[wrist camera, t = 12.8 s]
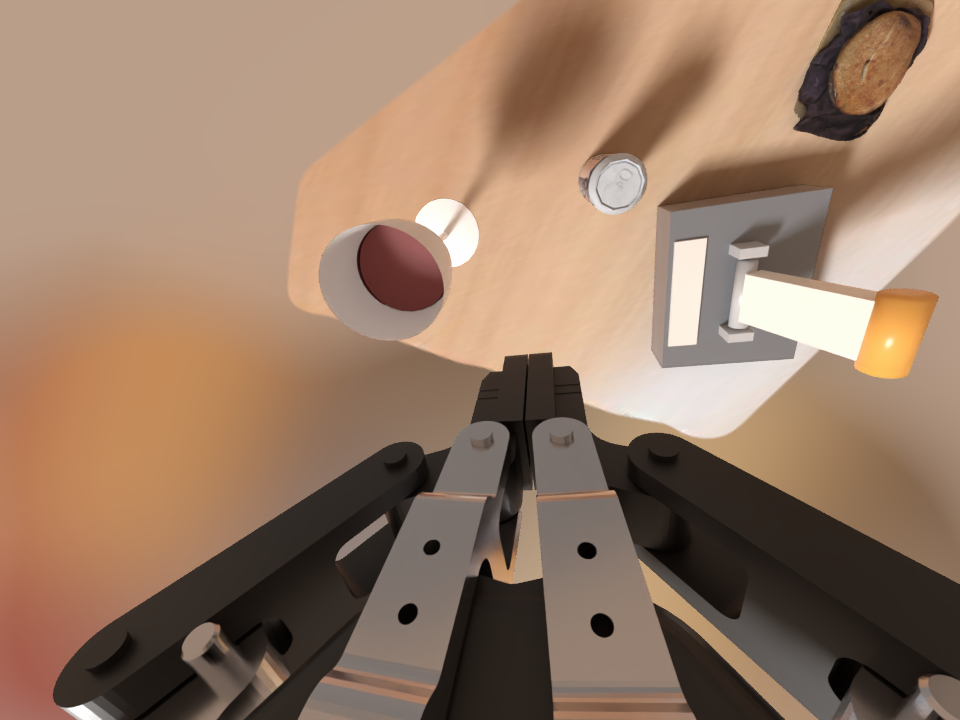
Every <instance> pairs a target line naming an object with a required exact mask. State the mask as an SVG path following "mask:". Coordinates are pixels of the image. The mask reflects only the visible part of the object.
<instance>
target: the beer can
mask: <svg viewBox="0 0 960 720" xmlns="http://www.w3.org/2000/svg"><path fill="white" fill-rule="evenodd" d="M646 186H647V172H646V169H645V166H644V164H643V163H642V162H641V160H640V159H638V158H637V157H635V156H634V155H631V154H629V153H617V154H600V155H597V156H594V157H592V158H591V159H589V160H588V161H587V162H586V163H585V164H584V165H583V167H582V168H581V171H580V173H579V177H578V187H579V190H580V192H581V194H582V195H583V197H584V198H586V199H587V200H588V201H589V202H590V203H591V204H592V205H594V206H595V207H596V208H597V209H598V210H600V211H601V212H603V213H606V214H613V215H616V214H621V213H624V212H626V211H628V210H630V209H632V208H633V207H634V206H635V205H636V204H637V203H638V202H639V201H640V199H641V198H642V196H643V194H644V192H645V190H646Z"/></svg>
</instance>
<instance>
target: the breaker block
mask: <svg viewBox="0 0 960 720" xmlns="http://www.w3.org/2000/svg"><path fill="white" fill-rule="evenodd" d="M832 191H833V188H829V187H819V186H809V185H796V186H789V187H783V188H776V189H769V190H763V191H756V192H750V193H743V194H737V195H730V196H723V197H717V198H710V199H704V200H697V201H691V202H684V203H677V204H671V205H664V206H658V207H657V229H656V253H655V276H654V300H653V324H652V347H651V350H652V352H653V354H654V355H655V357H656V359H657V360H658V362H659V364H660V366H661V367H662V368H670V367H684V366H698V365H712V364H726V363H740V362H754V361H768V360H782V359H794V354H795V350H796V346H797V341H795V340H792V339H789V338H786V337H783V336H780V335H777V334H774V333H771V332H768V331H765V330H762V329H759V328H756V327H753V326H750V325H748V327H747V328H744V329H735V328H731V327H729V326H728V322H729V315H730V307H731V300H732V293H733V286H734V279H735V271H736V264H737V260H742V259H751V258H752V259H758V260H759V263H758V269H757V271H760V270H765V271H770V272H775V273H781V274H786V275H791V276H797V277H802V278H807V279H812V277H813V273H814V268H815V264H816V260H817V255H818V251H819V247H820V242H821V238H822V234H823V230H824V225H825V221H826V217H827V212H828V208H829V204H830V199H831V195H832Z"/></svg>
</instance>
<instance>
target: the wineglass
mask: <svg viewBox="0 0 960 720" xmlns="http://www.w3.org/2000/svg"><path fill="white" fill-rule="evenodd" d="M478 240H479V230H478V226H477V222H476V220H475V218H474V216H473V215H472V213H471V211H470V210H469V209H467V208H466V207H465V206H464V205H463V204H462V203H459V202H457V201H455V200H452V199H442V198H441V199H437V200H434V201H431V202H429V203H428V204H427V205H425V206H424V207H423V208H422V209H421V211H420V212H419V214H418V215H417V217H416V221H415V222H413V221H410V220H403V219H386V220H380V221H375V222H370V223H365V224H362V225H358V226H355V227H353V228H350V229H347V230H345V231H344V232H342V233H340V234H339V235H337V236H336V237H335V238H334V239H333V240H332V241H331V242H330V243H329V245H328V246H327V247H326V249H325V251H324V253H323V255H322V258H321V261H320V265H319V283H320V287H321V291H322V294H323V296H324V299H325V301H326V303H327V304H328V306H329V308H330V309H331V310H332V312H333V313H334V314H335V316H336V317H337V318H338V319H339V320H340V321H342V322H343V323H344V324H345V325H347V326H348V327H349V328H351V329H352V330H354V331H356V332H357V333H360V334H362V335H364V336H367V337H370V338H373V339H378V340H385V341H388V340H389V341H395V340H403V339H407V338H410V337H413V336H415V335H417V334H419V333H421V332H422V331H424V330H425V329H426V328H428V327H429V326H430V325H431V324H432V323H433V321H434V320H435V319H436V317H437V316H438V314H439V312H440V311H441V309H442V307H443V305H444V303H445V301H446V299H447V296H448V293H449V289H450V285H451V277H452V267H455V266H460V265H462V264H463V263H465V262H466V261H468V260H469V259H470V258H471V256H472V255H473V254H474V253H475V250H476V248H477V245H478Z"/></svg>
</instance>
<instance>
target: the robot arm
mask: <svg viewBox="0 0 960 720" xmlns="http://www.w3.org/2000/svg"><path fill="white" fill-rule="evenodd" d="M533 480H534V487H535V490H537V496H536V499H537V512H538V524H539V535H540V536H539V537H540V548H541V561H542V573H543V578H541V579H536V580H532V581H527V582H523V583H518V584H513V577H514V570H515V563H516V556H517V549H518V542H519V535H520V528H521V521H522V509H521V505H522V497H523V490H532V485H533ZM383 514H385V515H386V517H387V520H388V524H387V525H385V526H384V527H383V528H381V529H380V530H379V531H378V532H376V533H375V534H374V535H372V536H371V537H370V538H369V539H367V540H366V541H365V542H363V543H362V544H361V545H360V546H358V547H357V548H356V549H355V550H353V551H352V552H351V553H349V554H348V555H347V556H345V557H344V558H343V559H341V560H339V561H335V559H336V556H337V553H338V552H339V550H340V548H341V547H342V546H343V545H344V544H345V543H347V542H348V541H349V540H350V539H352V538H353V537H354V536H356V535H357V534H358V533H360V532H361V531H362V530H364V529H365V528H366V527H367V526H369V525H370V524H371V523H373V522H374V521H376V520H377V519H378V518H380V516H382V515H383ZM638 558H639V559H640V560H641V561H642V562H643V563H645V564H646V565H647V566H648V567H649V568H650V569H651V570H652V571H653V572H655V573H656V574H657V575H658V576H659V577H660V578H661V579H662V580H663V581H665V582H666V583H667V584H668V585H669V586H670V587H671V588H672V589H674V590H675V591H676V592H677V593H678V594H679V595H680V596H681V597H683V598H684V599H685V600H686V601H687V602H688V603H689V604H690V605H691V606H693V607H694V608H695V609H696V610H697V611H698V612H699V613H700V614H701V615H703V616H704V617H705V618H706V619H707V620H708V621H709V622H711V623H712V624H713V625H714V626H715V627H716V628H717V629H718V630H719V631H720V632H722V633H723V634H724V635H725V636H726V637H727V638H728V639H729V640H731V641H732V642H733V643H734V644H735V645H736V646H737V647H738V648H739V649H740V650H742V651H743V652H744V653H745V654H746V655H747V656H748V657H749V658H751V659H752V660H753V661H754V662H755V663H756V664H757V665H758V666H759V667H761V668H762V669H763V670H764V671H765V672H766V673H767V674H769V675H770V676H771V677H772V678H773V679H774V680H775V681H776V682H777V683H779V684H780V685H781V686H782V687H783V688H784V689H785V690H786V691H787V692H789V693H790V694H791V695H792V696H793V697H794V698H795V699H796V700H798V701H799V702H800V703H801V704H802V705H803V706H804V707H805V708H806V709H808V710H809V711H810V712H811V713H812V714H813V715H814V716H815V717H816V718H818V719H819V720H960V584H958V583H956V582H954V581H952V580H950V579H948V578H947V577H945V576H943V575H941V574H939V573H937V572H935V571H933V570H931V569H929V568H927V567H926V566H924V565H922V564H920V563H918V562H916V561H914V560H912V559H910V558H908V557H907V556H904V555H903V554H901V553H899V552H897V551H895V550H893V549H891V548H889V547H888V546H886V545H884V544H882V543H880V542H878V541H876V540H874V539H872V538H871V537H869V536H867V535H865V534H862V533H861V532H859V531H857V530H855V529H853V528H851V527H850V526H848V525H846V524H844V523H842V522H840V521H838V520H836V519H834V518H832V517H831V516H829V515H827V514H825V513H823V512H821V511H819V510H817V509H815V508H813V507H812V506H810V505H808V504H806V503H804V502H802V501H800V500H798V499H796V498H795V497H793V496H791V495H789V494H787V493H785V492H783V491H781V490H779V489H777V488H775V487H774V486H772V485H770V484H768V483H766V482H764V481H762V480H760V479H758V478H756V477H754V476H753V475H751V474H749V473H747V472H745V471H743V470H741V469H739V468H737V467H735V466H734V465H732V464H730V463H728V462H726V461H724V460H722V459H720V458H718V457H716V456H714V455H713V454H711V453H709V452H707V451H705V450H703V449H701V448H699V447H698V446H696V445H693V444H692V443H690V442H688V441H686V440H684V439H682V438H680V437H677V436H674V435H671V434H664V433H648V434H643V435H641V436H638V437H636V438H635V439H634V440H632V442H631V443H630V444H629V446H622V445H617V444H613V443H609V442H606V441H604V440H601V439H600V438H598V437H596V436H595V435H594V434H593V433H592V432H591V431H590V429H589V428H588V425H587V421H586V416H585V410H584V404H583V398H582V393H581V386H580V381H579V375H578V373H577V372H576V371H575V370H574V369H573V368H572V367H570V366H565V367H553V358H552V352H550V353H538V354H529V358H528V354H527V355H515V356H505V360H504V365H503V371H499V372H490V373H489V374H488V375H487V376H486V377H485V378H484V379H483V380H482V383H481V387H480V392H479V394H478V400H477V402H476V405H475V409H474V413H473V417H472V421H471V424H470V425H468V426H467V427H465V428H463V429H462V430H461V431H460V432H459V433H458V434H457V436H456V438H455V440H454V443H453V445H452V447H450V448H448V449H445V450H442V451H438V452H434V453H431V454H427V455H424V452H423V449H422V448H421V446H419V445H418V444H416V443H413V442H399V443H395V444H392V445H389V446H387V447H385V448H383V449H382V450H380V451H379V452H377V453H375V454H374V455H372V456H371V457H369V458H367V459H366V460H364V461H363V462H361V463H360V464H358V465H356V466H355V467H353V468H352V469H350V470H349V471H347V472H346V473H344V474H342V475H341V476H339V477H338V478H336V479H335V480H333V481H332V482H330V483H328V484H327V485H325V486H324V487H322V488H321V489H319V490H318V491H316V492H314V493H313V494H311V495H310V496H308V497H307V498H305V499H303V500H302V501H300V502H299V503H297V504H296V505H294V506H293V507H291V508H290V509H288V510H286V511H285V512H283V513H282V514H280V515H278V516H277V517H275V518H274V519H273V520H271V521H269V522H268V523H266V524H265V525H263V526H261V527H260V528H258V529H257V530H255V531H254V532H252V533H251V534H249V535H247V536H246V537H244V538H243V539H241V540H239V541H238V542H237V543H235V544H233V545H232V546H230V547H229V548H227V549H225V550H224V551H222V552H221V553H219V554H218V555H216V556H215V557H213V558H211V559H210V560H209V561H207V562H205V563H204V564H202V565H201V566H199V567H197V568H196V569H194V570H193V571H191V572H190V573H188V574H186V575H185V576H183V577H182V578H180V579H179V580H177V581H176V582H174V583H172V584H171V585H170V586H168V587H166V588H165V589H163V590H161V591H160V592H158V593H157V594H155V595H154V596H152V597H151V598H149V599H147V600H146V601H145V602H143V603H141V604H140V605H138V606H137V607H135V608H133V609H132V610H130V611H129V612H127V613H126V614H124V615H123V616H121V617H119V618H118V619H116V620H115V621H113V622H112V623H110V624H109V625H107V626H106V627H104V628H103V629H102V630H100V631H99V632H98V633H96V634H95V635H94V636H93V637H92V638H91V639H89V640H88V641H87V642H86V643H85V644H84V645H83V646H82V647H81V648H80V649H79V650H78V651H77V652H76V654H75V655H74V656H73V657H72V658H71V659H70V661H69V662H68V663H67V665H66V666H65V667H64V669H63V670H62V672H61V674H60V676H59V677H58V679H57V681H56V684H55V687H54V691H53V699H54V702H55V703H56V705H58V706H59V707H60V708H62V709H63V710H65V711H66V712H67V713H69V714H70V715H72V716H73V717H75V718H76V719H77V720H785V719H784V718H783V717H782V716H781V715H780V714H779V713H778V712H777V711H776V710H775V709H774V708H773V707H772V706H771V705H770V704H769V703H768V702H767V701H766V700H765V699H763V697H762V696H761V695H760V694H758V692H757V691H756V690H755V689H754V688H753V687H752V686H751V685H750V684H748V682H746V680H745V679H744V678H743V677H742V676H741V675H740V674H739V673H738V672H737V671H736V670H735V669H734V668H732V666H731V665H729V663H728V662H726V661H725V660H724V659H723V658H722V657H721V656H720V655H719V654H718V653H717V652H716V651H715V650H714V649H713V648H712V647H711V646H710V645H709V644H708V643H707V642H706V641H705V640H704V639H703V638H702V637H701V636H700V635H699V634H698V633H697V632H695V631H694V630H693V629H692V628H691V627H689V626H688V625H687V624H686V623H685V622H683V621H682V620H681V619H679V618H678V617H676V616H674V615H673V614H672V613H670V612H669V611H667V610H665V609H664V608H662V607H660V606H658V605H656V604H654V603H653V602H652V600H651V596H650V593H649V591H648V587H647V584H646V581H645V578H644V575H643V572H642V569H641V566H640V563H639V560H638Z"/></svg>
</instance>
